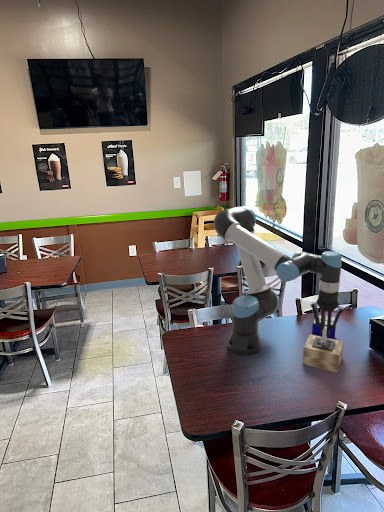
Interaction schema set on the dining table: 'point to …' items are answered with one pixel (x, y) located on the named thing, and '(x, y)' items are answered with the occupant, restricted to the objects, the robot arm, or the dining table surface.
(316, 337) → the socket block
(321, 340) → the peg
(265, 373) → the dining table surface
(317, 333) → the puzzle cube
